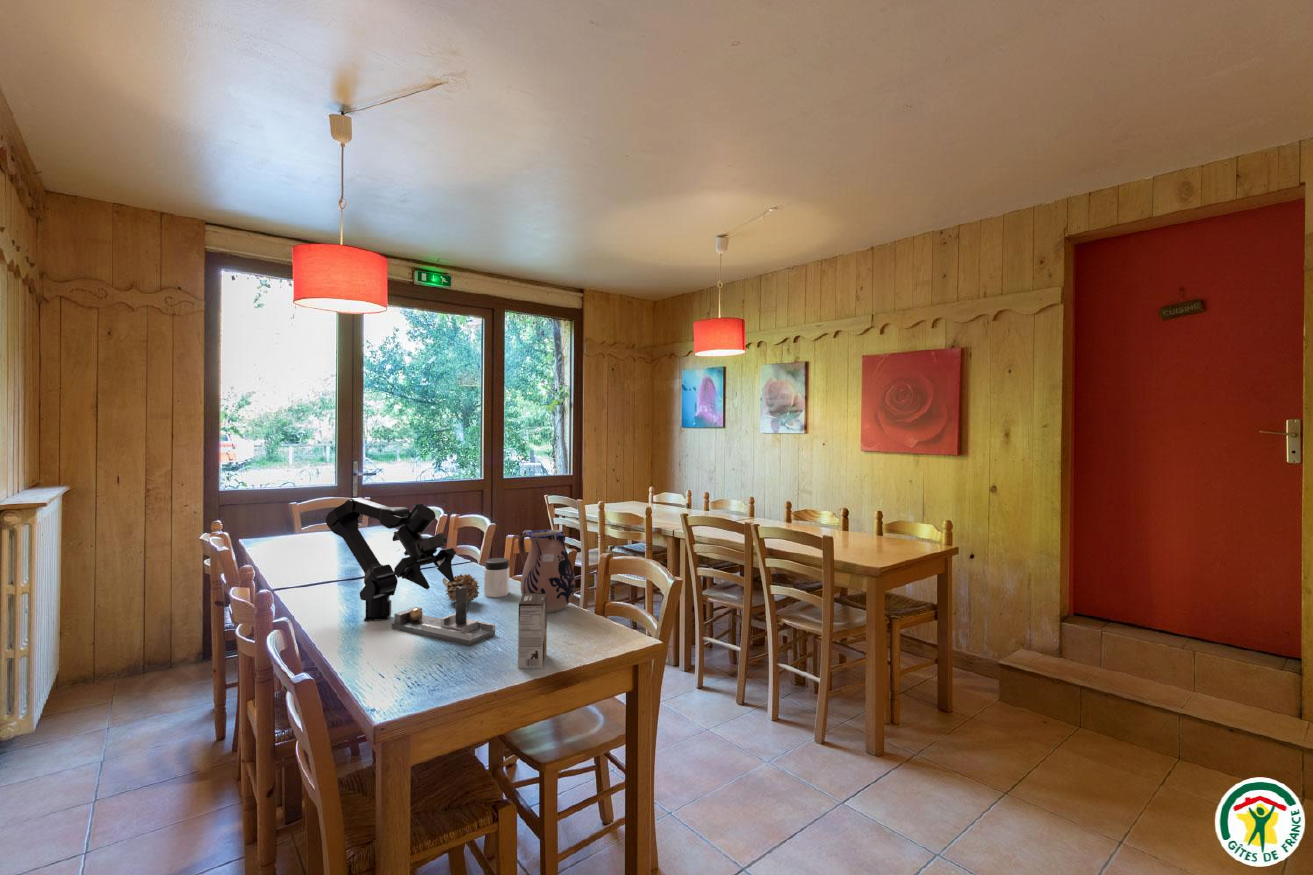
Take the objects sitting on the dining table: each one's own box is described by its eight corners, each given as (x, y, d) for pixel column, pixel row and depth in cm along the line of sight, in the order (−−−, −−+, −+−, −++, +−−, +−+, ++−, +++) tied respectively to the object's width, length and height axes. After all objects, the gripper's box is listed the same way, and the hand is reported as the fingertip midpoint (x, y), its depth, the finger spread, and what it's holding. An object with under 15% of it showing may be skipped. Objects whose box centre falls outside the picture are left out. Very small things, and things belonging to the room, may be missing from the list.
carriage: (440, 631, 171) (440, 588, 170) (458, 624, 177) (459, 582, 177) (459, 635, 167) (460, 591, 167) (477, 628, 174) (478, 586, 174)
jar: (488, 598, 209) (488, 563, 209) (480, 593, 216) (480, 559, 215) (513, 595, 214) (513, 561, 214) (505, 589, 221) (505, 556, 220)
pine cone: (487, 604, 202) (487, 574, 202) (461, 610, 195) (461, 579, 195) (452, 592, 217) (452, 564, 217) (426, 597, 209) (426, 568, 209)
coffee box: (521, 654, 158) (522, 592, 158) (547, 654, 159) (547, 592, 158) (516, 668, 149) (517, 603, 149) (543, 668, 150) (544, 602, 149)
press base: (391, 628, 177) (391, 610, 177) (418, 618, 186) (418, 602, 186) (469, 646, 164) (469, 627, 164) (495, 634, 173) (495, 617, 173)
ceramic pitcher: (558, 620, 187) (559, 538, 187) (499, 612, 194) (500, 533, 194) (584, 604, 203) (585, 529, 203) (529, 597, 211) (530, 525, 210)
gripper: (401, 529, 169) (430, 574, 164) (451, 520, 186) (479, 560, 181) (381, 555, 173) (409, 599, 168) (432, 544, 189) (459, 584, 185)
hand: (441, 584), depth 175 cm, fingers open, 9 cm apart
